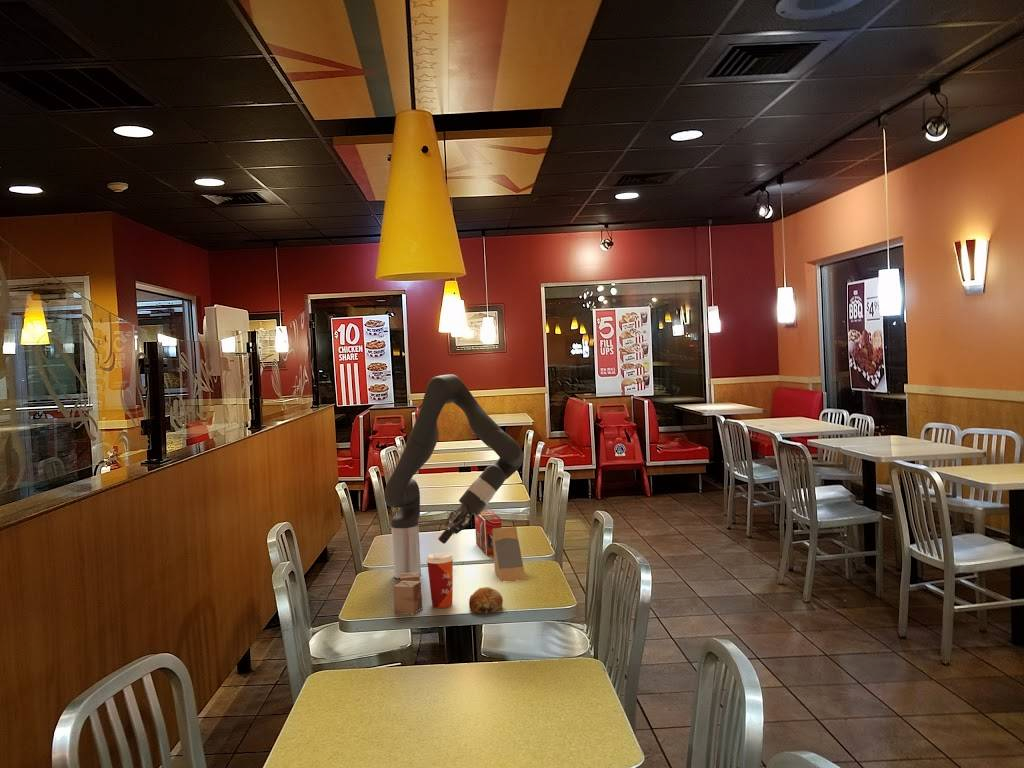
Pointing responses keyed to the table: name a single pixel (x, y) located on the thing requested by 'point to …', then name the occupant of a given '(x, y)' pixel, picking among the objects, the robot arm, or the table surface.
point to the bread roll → (485, 600)
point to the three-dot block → (407, 597)
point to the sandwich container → (507, 554)
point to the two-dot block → (410, 576)
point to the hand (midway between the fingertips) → (441, 541)
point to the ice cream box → (486, 530)
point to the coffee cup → (441, 579)
